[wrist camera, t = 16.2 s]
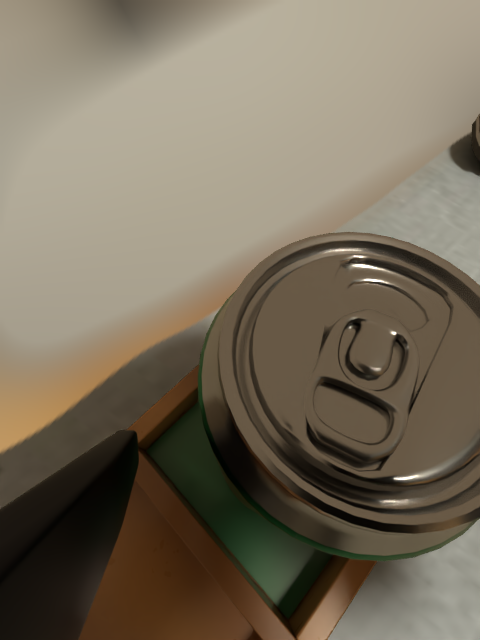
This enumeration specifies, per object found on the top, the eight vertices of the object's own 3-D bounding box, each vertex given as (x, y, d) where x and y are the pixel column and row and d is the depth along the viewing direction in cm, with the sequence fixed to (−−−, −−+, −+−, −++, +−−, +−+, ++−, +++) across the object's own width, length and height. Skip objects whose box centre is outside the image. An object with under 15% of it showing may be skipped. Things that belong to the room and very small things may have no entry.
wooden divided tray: (69, 983, 9) (25, 1112, 7) (-84, 644, 12) (-143, 672, 11) (427, 449, 16) (454, 443, 14) (268, 316, 19) (272, 296, 17)
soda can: (346, 426, 16) (579, 281, 5) (308, 542, 14) (571, 695, 3) (249, 380, 17) (277, 177, 6) (199, 481, 15) (111, 438, 4)
